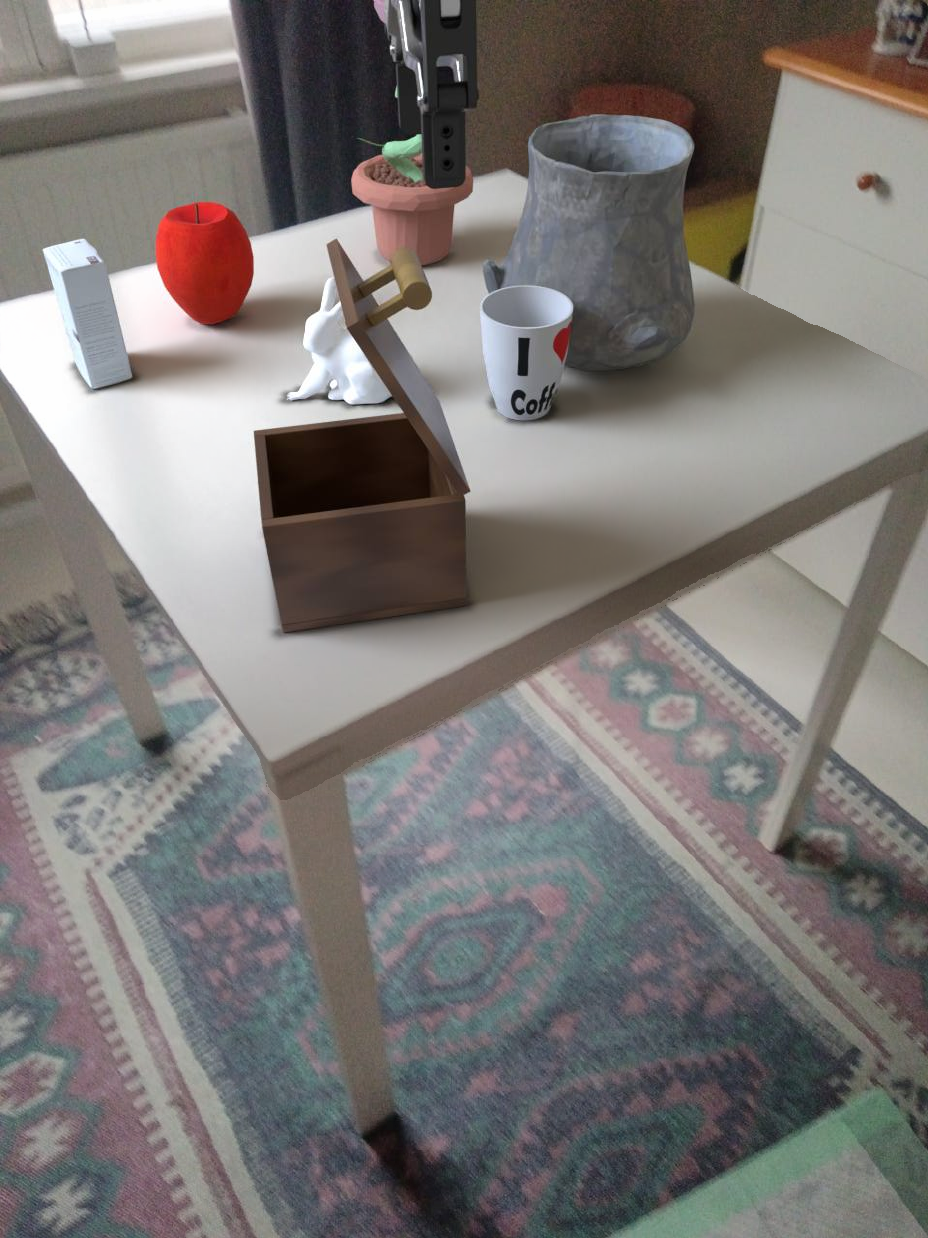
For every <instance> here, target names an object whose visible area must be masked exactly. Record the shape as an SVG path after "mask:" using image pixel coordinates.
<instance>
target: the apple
mask: <svg viewBox="0 0 928 1238" xmlns="http://www.w3.org/2000/svg"><path fill="white" fill-rule="evenodd" d="M158 223H159V224H158V226H157V227H158V228H157V231H156V238H155V260H156V268H157V272H158V273H159V276H160V280H161V281H162V284H163V286H164V288H165V290H166V291H167V292H168V294H169V295H170V297H171V298H172V299H173V301H174V302H175V303H176V304H177V305H178V307H179V308H180V309H181V310H183V312H185V313H186V315H187V316H189V318H190V319H192V320H193V321H195V322H196V323H199V324H203V325H215V324H219V323H223V322H225V321H228V320H230V319H232V318H233V317H234V316H236V315H237V313H238V312H239V311H240V309H241V308H242V307H243V305H244V302H245V301H246V298H247V295H248V294H249V291H250V289H251V287H252V284H253V279H254V275H255V259H254V258H255V257H254V252H253V248H252V242H251V240H250V237H249V235H248V233H247V230H246V229H245V227H244V226H243V224H242V222H241V221H240V219H239V217H238V216H237V215H236V213H235V211H233V210H231V209H229V208H228V207H226V205H223V204H221V203H218V202H212V201H197V202H193V203H189V204H185V205H180V206H176V207H175V208H173V209H170V210H168V212H167V213H165V214H164V216H163V217H162V219H160V222H158Z"/></svg>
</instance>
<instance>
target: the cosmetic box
mask: <svg viewBox="0 0 928 1238" xmlns="http://www.w3.org/2000/svg"><path fill="white" fill-rule="evenodd" d="M42 253H43V256H44V259H45V262H46V266H47V268H48V272H49V276H50V279H51V283H52V286H53V291H54V294H55V297H56V301H57V304H58V307H59V311H60V315H61V318H62V321H63V325H64V328H65V331H66V335H67V338H68V342H69V346H70V349H71V352H72V356H73V359H74V362H75V365H76V367H77V369H78V372H79V373H80V374H81V376H82V377H83V379H84V381H85V382H86V383H87V385H88V386H89V387H90V389H93V390H96V389H100V388H105V387H109V386H112V385H115V384H120V383H122V382H125V381H128V380H130V379H132V378H133V372H132V368H131V364H130V360H129V356H128V352H127V351H128V350H127V347H126V344H125V339H124V335H123V331H122V326H121V322H120V318H119V314H118V310H117V305H116V302H115V297H114V293H113V289H112V286H111V282H110V278H109V272H108V269H107V266H106V262H105V261H104V259H103V258H102V257H101V255H99V253H98V251H97V249H96V248H95V247H94V246H92V245H91V244H90V243H89V242H88V240H87V239H86V238H79V239H75V240H72V241H67V242H63V243H58V244H54V245H51V246H48V247H45V248H43V249H42Z"/></svg>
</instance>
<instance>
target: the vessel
mask: <svg viewBox="0 0 928 1238" xmlns="http://www.w3.org/2000/svg"><path fill="white" fill-rule="evenodd" d="M694 150H695V142H694V140H693V138H692V136H691V134H690V133H689V132H688V131H687V130H686V129H685V128H683V127H682V126H680V125H678V124H676V123H673V122H670V121H668V120H665V119H660V118H652V117H646V116H642V115H631V114H630V115H628V114H624V115H623V114H602V113H600V114H591V115H589V116H586V115H582V116H578V117H574V118H569V119H565V120H559V121H553V122H548V123H545V124H541V125H540V126H538V127H536V128H535V129H534V130H533V132H532V133H531V135H530V136H529V137H528V142H527V152H528V153H527V154H528V180H527V190H526V195H525V199H524V204H523V208H522V214H521V216H520V218H519V222H518V225H517V227H516V231H515V234H514V236H513V239H512V241H511V245H510V248H509V250H508V252H507V255H506V258H505V259H504V261H503V262H502V264H501V265H499V266H498V265H497V264H496V262H494V260H491V259H487V260H484V262H483V265H482V274H483V279H484V283H485V288H486V290H487V293H488V294H490V293H492V292H494V291H496V290H499V289H502V288H506V287H512V286H523V285H529V286H540V287H546V288H550V289H553V290H556V291H558V292H561V293H562V294H564V295H566V296H567V297H568V298H569V299H570V300H571V302H572V304H573V314H572V322H571V329H570V337H569V345H568V352H567V356H566V360H565V364H564V367H572V368H576V369H580V370H584V371H614V370H623V369H633V368H635V367H640V366H643V365H646V364H649V363H652V362H655V361H657V360H659V359H661V358H663V357H664V356H665V357H666V355H668V354H671V352H673V351H674V350H675V349H677V348H678V347H679V346H680V345H682V344H683V342H684V341H686V339H687V337H688V336H689V334H690V332H691V330H692V328H693V323H694V320H695V306H696V305H695V292H694V286H693V278H692V272H691V271H692V270H691V266H690V261H689V254H688V250H687V243H686V236H685V229H684V227H685V226H684V219H685V218H684V194H685V185H686V179H687V173H688V168H689V165H690V163H691V159H692V157H693V154H694Z"/></svg>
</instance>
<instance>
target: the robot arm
mask: <svg viewBox="0 0 928 1238" xmlns="http://www.w3.org/2000/svg"><path fill="white" fill-rule="evenodd" d="M384 14H385V20H386V24H385V23H384V33H385V34H386V37H387V41H388V42H391V43H390V44H389V52H390V56H392V61H393V62H394V63H395V77H396V87H397V97H398V98H397V115H398V116H397V117H398V126H399V128H400V131H401V132H402V133H403V134H404V135H406V136H416V135H419V134H421V135H422V161H423V178H424V180H425V183H426V185H427V186H428V187H429V188H431V189H439V188H451V187H459V186H461V185H462V184H463V183H464V182H465V179H466V166H467V165H466V163H467V162H466V160H467V159H466V111H470V110H471V109H477V106H478V101H479V100H480V99H479V98H480V92H479V88H478V38H477V37H478V36H477V35H478V33H477V32H478V31H477V0H384ZM396 62H397V63H396ZM398 62H400V63H398ZM438 67H450V68H451V69H452V72H453V80H454V81H447V82H446V81H445V82H438V72H437V71H438V69H437V68H438Z"/></svg>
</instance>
